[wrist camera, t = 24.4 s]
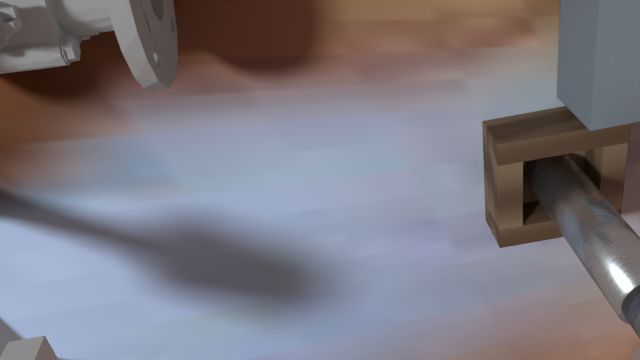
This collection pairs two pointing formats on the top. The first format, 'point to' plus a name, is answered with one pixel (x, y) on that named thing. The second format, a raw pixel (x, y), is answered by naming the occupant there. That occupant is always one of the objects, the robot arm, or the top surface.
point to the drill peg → (591, 231)
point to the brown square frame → (535, 143)
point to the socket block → (600, 61)
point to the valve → (83, 22)
